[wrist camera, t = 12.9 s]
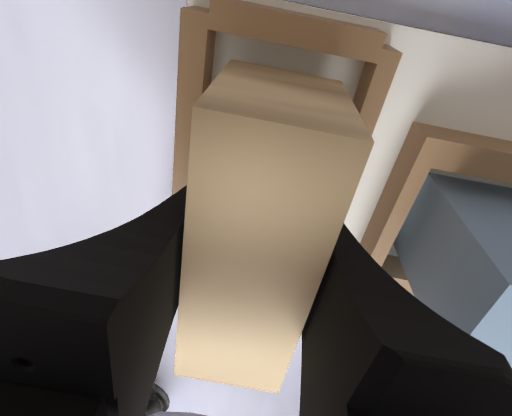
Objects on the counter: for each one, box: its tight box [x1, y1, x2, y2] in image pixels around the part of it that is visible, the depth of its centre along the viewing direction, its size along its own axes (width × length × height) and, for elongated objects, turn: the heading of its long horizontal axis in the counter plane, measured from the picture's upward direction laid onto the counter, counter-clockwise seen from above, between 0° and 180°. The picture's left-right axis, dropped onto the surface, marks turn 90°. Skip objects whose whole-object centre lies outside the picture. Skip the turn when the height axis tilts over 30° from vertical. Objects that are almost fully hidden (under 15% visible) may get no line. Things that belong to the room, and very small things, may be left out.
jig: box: [172, 0, 512, 296], centre depth 14 cm, size 21×13×2 cm, turn 80°
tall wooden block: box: [174, 59, 375, 394], centre depth 11 cm, size 9×4×5 cm, turn 170°
